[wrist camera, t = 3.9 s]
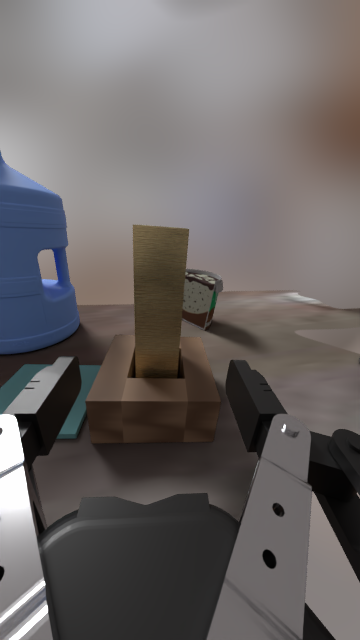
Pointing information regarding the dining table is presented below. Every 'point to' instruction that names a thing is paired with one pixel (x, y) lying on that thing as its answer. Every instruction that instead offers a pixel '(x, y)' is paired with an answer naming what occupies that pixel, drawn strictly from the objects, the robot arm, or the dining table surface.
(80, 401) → the teal mat
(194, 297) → the food container
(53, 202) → the water jug
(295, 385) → the dining table surface
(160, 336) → the tan wooden peg
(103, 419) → the socket block
